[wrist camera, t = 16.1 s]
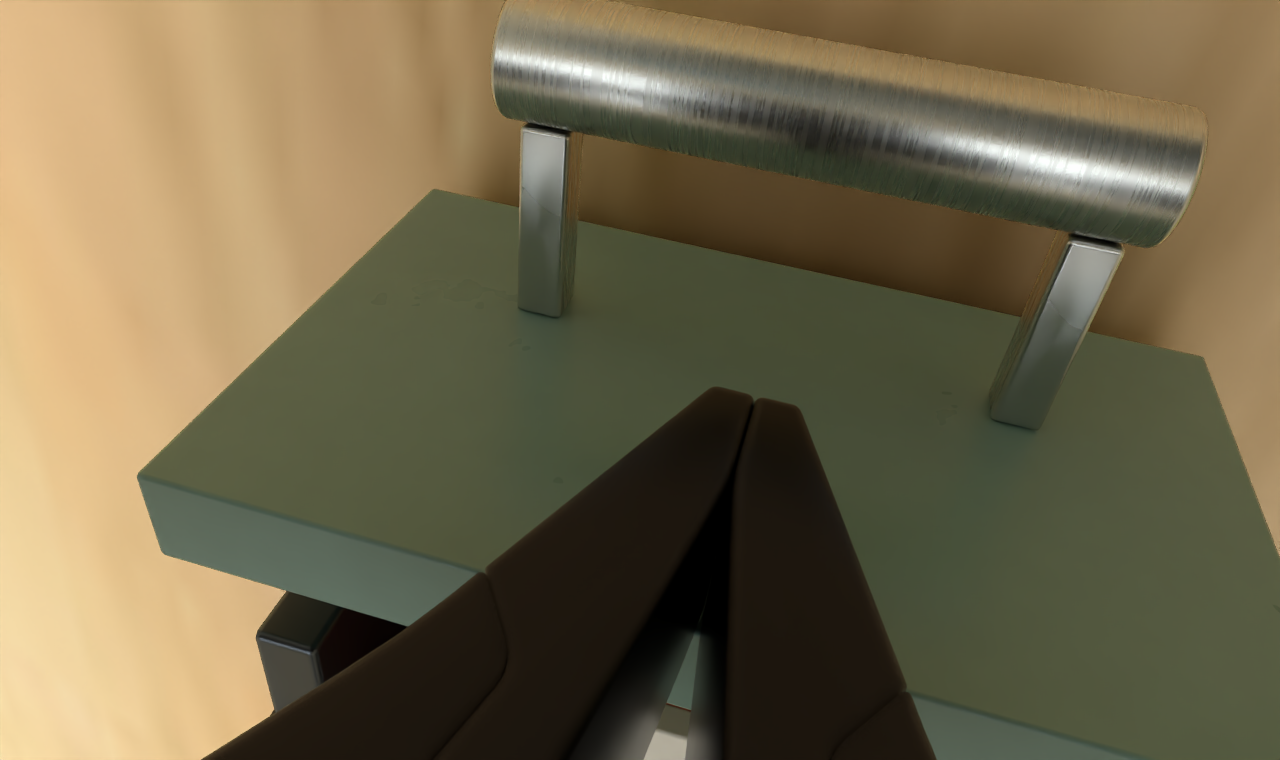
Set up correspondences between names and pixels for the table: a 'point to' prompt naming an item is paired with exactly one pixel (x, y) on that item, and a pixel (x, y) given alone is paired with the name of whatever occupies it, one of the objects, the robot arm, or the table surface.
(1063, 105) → the drawer
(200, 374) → the table surface
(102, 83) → the table surface
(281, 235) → the table surface
